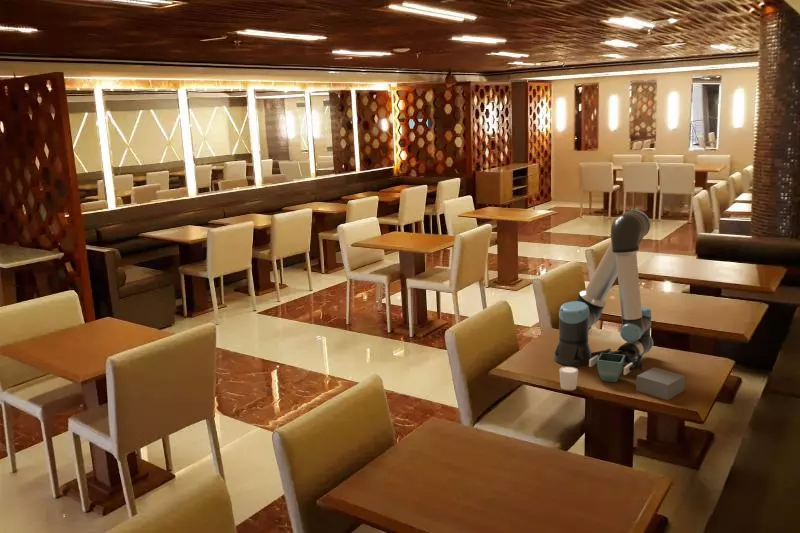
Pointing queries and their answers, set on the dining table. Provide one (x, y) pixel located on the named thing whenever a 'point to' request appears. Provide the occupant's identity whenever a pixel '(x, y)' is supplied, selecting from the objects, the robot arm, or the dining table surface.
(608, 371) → the flower pot
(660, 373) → the charcoal stand
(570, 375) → the shot glass
